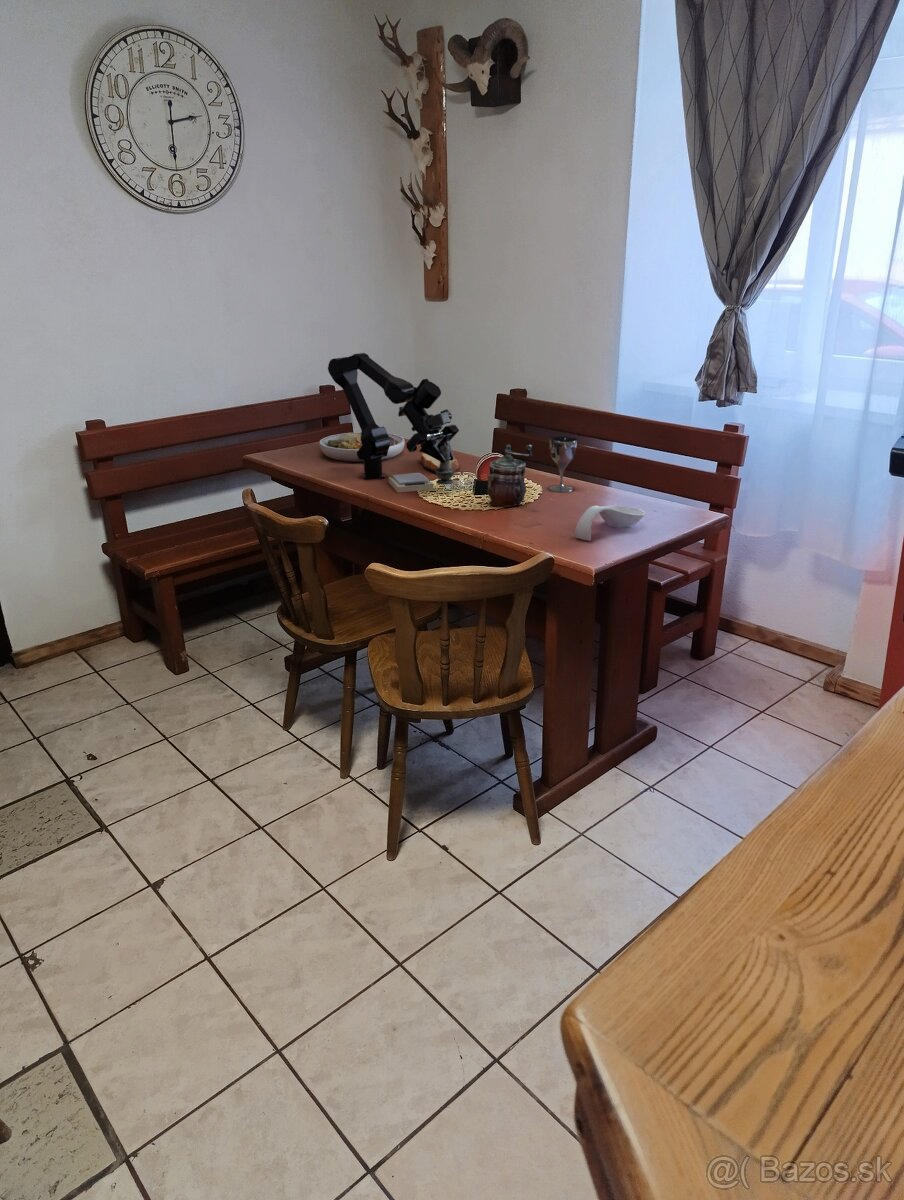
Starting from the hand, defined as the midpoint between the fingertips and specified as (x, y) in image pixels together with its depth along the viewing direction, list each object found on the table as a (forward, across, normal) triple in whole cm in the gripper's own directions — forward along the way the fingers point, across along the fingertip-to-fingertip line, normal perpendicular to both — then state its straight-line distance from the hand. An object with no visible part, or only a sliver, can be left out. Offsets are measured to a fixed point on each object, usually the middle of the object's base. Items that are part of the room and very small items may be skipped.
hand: (448, 461), depth 239 cm
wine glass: (+24, +23, -11) cm, 35 cm away
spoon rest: (+46, -4, -33) cm, 56 cm away
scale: (-3, -2, +16) cm, 17 cm away
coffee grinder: (+22, +1, -9) cm, 24 cm away
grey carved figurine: (+4, 0, +6) cm, 7 cm away
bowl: (-32, +21, +47) cm, 61 cm away
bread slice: (-9, +23, +23) cm, 34 cm away
